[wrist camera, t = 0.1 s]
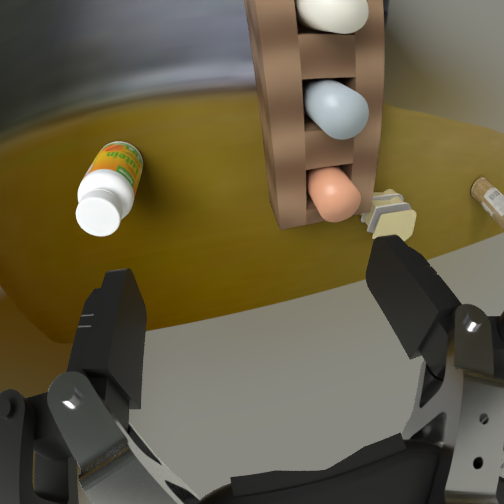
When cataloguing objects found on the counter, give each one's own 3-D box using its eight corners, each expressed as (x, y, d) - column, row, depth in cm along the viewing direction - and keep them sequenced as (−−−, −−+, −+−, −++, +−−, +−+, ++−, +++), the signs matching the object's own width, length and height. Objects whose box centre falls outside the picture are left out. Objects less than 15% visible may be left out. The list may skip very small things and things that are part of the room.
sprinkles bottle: (468, 199, 41) (513, 252, 31) (472, 178, 37) (522, 232, 28) (483, 193, 40) (527, 243, 31) (487, 173, 37) (536, 223, 28)
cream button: (288, -15, 16) (309, -22, 12) (337, -13, 16) (366, -16, 12) (293, 30, 19) (314, 33, 15) (341, 30, 19) (369, 35, 16)
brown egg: (302, 162, 29) (319, 188, 25) (341, 157, 29) (363, 181, 25) (303, 197, 32) (318, 225, 28) (339, 190, 32) (358, 217, 28)
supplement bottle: (152, 152, 28) (138, 206, 21) (131, 190, 31) (116, 250, 24) (108, 132, 25) (77, 179, 19) (90, 172, 28) (62, 229, 21)
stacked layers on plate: (340, 228, 41) (355, 255, 37) (356, 174, 35) (376, 199, 31) (394, 225, 43) (411, 249, 39) (413, 177, 36) (435, 200, 32)
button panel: (239, -29, 16) (248, -40, 13) (352, -27, 16) (380, -31, 13) (270, 203, 35) (280, 230, 32) (352, 188, 36) (370, 212, 32)
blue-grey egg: (297, 77, 22) (318, 91, 19) (343, 75, 22) (370, 89, 19) (300, 121, 25) (319, 142, 22) (343, 117, 26) (367, 137, 22)
